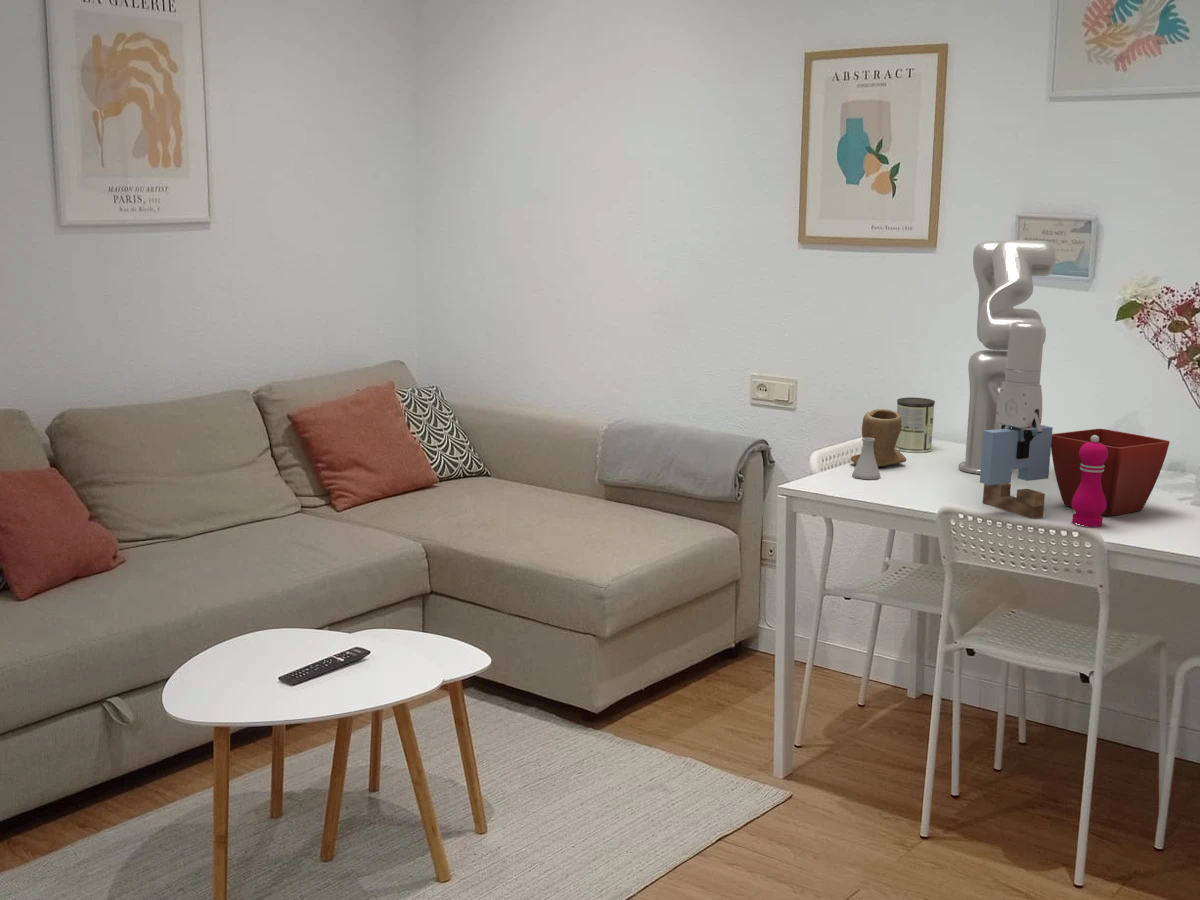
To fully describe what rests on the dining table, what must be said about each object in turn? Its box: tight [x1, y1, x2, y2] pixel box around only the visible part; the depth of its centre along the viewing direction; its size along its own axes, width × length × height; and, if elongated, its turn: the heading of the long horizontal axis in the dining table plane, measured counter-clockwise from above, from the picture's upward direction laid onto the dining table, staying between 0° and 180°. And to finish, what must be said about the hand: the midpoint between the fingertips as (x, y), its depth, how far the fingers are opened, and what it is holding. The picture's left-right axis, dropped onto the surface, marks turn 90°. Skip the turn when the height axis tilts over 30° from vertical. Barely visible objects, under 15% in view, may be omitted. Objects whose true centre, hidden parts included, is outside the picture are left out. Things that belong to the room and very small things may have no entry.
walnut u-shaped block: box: [982, 483, 1046, 519], centre depth 301 cm, size 16×3×6 cm, turn 27°
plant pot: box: [1051, 428, 1170, 517], centre depth 303 cm, size 19×19×17 cm
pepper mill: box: [1071, 435, 1108, 528], centre depth 288 cm, size 7×7×20 cm
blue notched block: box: [979, 425, 1053, 485], centre depth 299 cm, size 18×3×12 cm, turn 117°
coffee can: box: [895, 397, 936, 454], centre depth 369 cm, size 10×10×14 cm
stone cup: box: [850, 408, 907, 468], centre depth 347 cm, size 15×12×15 cm
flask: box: [851, 437, 882, 480], centre depth 333 cm, size 7×7×10 cm
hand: (1016, 456), depth 299 cm, fingers closed on blue notched block, 3 cm apart
